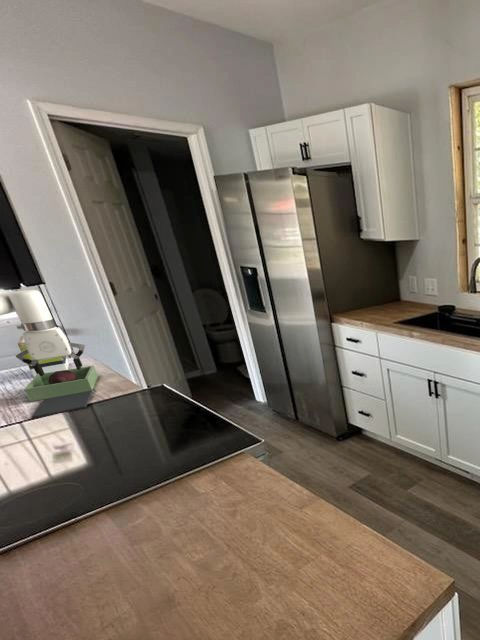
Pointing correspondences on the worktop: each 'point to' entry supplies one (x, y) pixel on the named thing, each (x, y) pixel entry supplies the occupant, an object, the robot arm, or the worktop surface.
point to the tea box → (45, 361)
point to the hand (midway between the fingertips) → (61, 371)
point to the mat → (62, 404)
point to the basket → (61, 384)
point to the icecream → (62, 377)
